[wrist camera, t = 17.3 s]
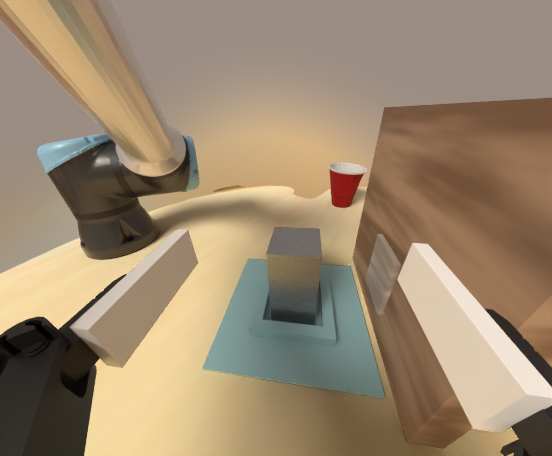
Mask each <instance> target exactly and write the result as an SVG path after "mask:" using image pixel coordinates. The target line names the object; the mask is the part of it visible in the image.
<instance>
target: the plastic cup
mask: <svg viewBox="0 0 552 456" xmlns="http://www.w3.org/2000/svg"><path fill="white" fill-rule="evenodd" d="M328 167H329V170H330V179H331V180H330V181H331V197H332V204H333V205H334V206H336V207H343V208H345V207H349V206H350V205H351V203H352V200H353V197H354V195H355V193H356V190H357V188H358V185H359V182H360V180H361V178H362V176H363V174H364V173H365V172H366V171H367V169H366V168H365V167H363V166H361V165H357V164H351V163H340V162H339V163H332V164H329V166H328Z"/></svg>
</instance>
